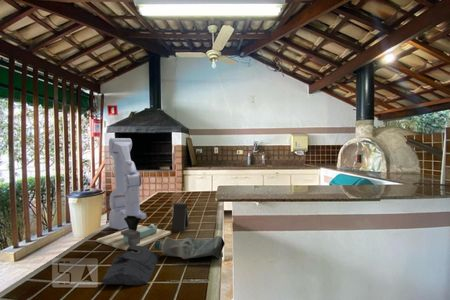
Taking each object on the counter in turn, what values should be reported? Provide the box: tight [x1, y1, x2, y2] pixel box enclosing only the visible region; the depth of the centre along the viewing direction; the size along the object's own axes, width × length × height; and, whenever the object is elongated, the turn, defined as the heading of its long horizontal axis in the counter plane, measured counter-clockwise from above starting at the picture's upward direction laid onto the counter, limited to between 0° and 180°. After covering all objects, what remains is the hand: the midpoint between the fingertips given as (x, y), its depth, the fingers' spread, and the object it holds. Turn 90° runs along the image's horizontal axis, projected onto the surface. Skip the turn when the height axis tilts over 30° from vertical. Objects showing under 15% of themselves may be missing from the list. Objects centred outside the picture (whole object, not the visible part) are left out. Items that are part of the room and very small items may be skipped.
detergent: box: [154, 235, 225, 260], centre depth 89 cm, size 13×7×25 cm
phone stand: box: [171, 202, 190, 232], centre depth 120 cm, size 9×6×12 cm, turn 173°
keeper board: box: [96, 224, 172, 252], centre depth 107 cm, size 21×22×6 cm
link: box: [123, 223, 158, 243], centre depth 105 cm, size 16×4×3 cm, turn 148°
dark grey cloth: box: [101, 244, 161, 286], centre depth 80 cm, size 15×22×5 cm
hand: (133, 233), depth 107 cm, fingers closed
